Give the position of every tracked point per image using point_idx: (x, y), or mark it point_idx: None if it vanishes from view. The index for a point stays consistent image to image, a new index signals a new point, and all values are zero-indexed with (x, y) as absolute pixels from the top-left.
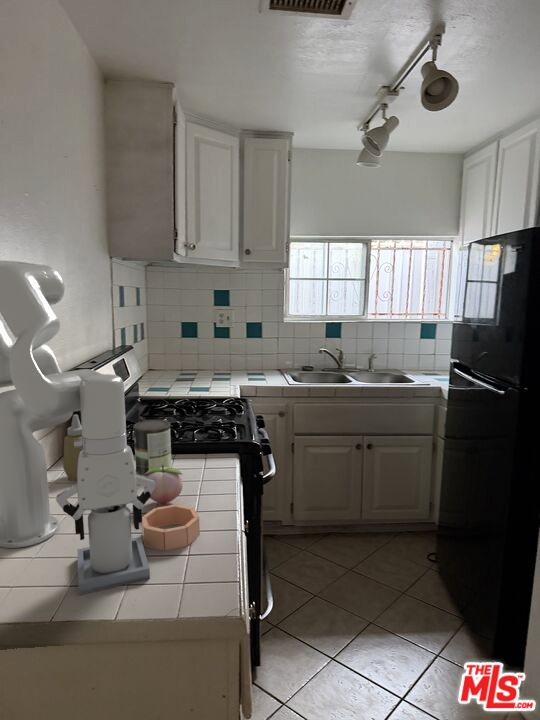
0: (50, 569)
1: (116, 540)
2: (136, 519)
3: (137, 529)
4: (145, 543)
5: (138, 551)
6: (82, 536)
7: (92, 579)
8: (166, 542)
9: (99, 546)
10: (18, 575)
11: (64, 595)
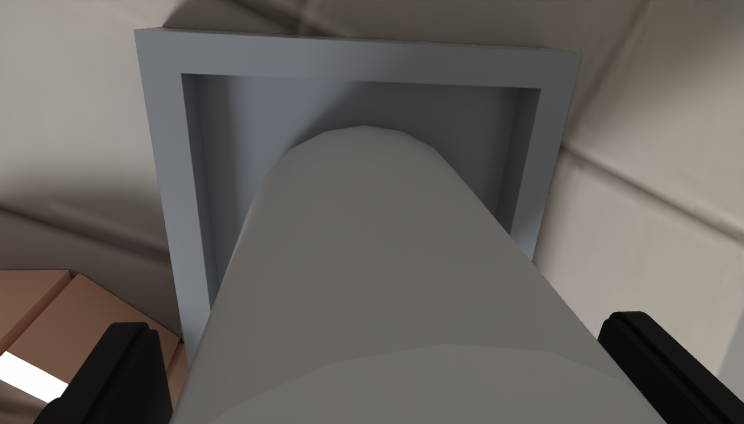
0: (598, 304)
1: (354, 209)
2: (81, 411)
3: (134, 322)
4: (177, 351)
5: (210, 273)
6: (643, 328)
7: (500, 69)
8: (31, 298)
9: (490, 218)
10: (706, 306)
11: (605, 80)
